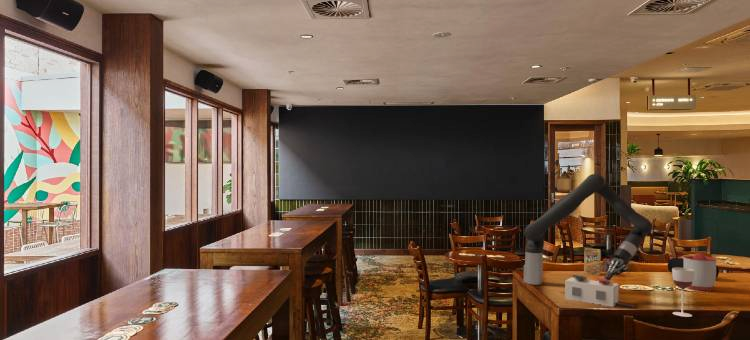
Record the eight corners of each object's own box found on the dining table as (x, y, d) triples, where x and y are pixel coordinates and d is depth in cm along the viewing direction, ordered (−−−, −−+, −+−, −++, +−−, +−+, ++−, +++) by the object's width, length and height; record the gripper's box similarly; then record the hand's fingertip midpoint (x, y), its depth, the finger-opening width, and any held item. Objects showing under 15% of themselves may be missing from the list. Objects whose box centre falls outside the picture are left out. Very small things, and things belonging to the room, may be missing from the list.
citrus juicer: (714, 287, 287) (715, 251, 287) (718, 293, 272) (718, 255, 272) (681, 283, 294) (682, 248, 294) (683, 289, 279) (683, 252, 279)
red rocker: (596, 281, 246) (596, 277, 247) (601, 283, 253) (601, 279, 254) (605, 283, 244) (605, 278, 244) (610, 285, 251) (610, 280, 251)
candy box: (583, 273, 319) (584, 248, 319) (585, 272, 323) (585, 247, 323) (599, 275, 315) (599, 250, 315) (600, 274, 318) (600, 249, 318)
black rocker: (572, 278, 253) (573, 274, 253) (578, 280, 260) (578, 276, 260) (581, 280, 250) (581, 275, 251) (586, 281, 257) (586, 277, 258)
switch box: (564, 299, 255) (564, 280, 254) (571, 295, 263) (571, 277, 263) (631, 310, 236) (632, 290, 236) (636, 305, 245) (636, 286, 245)
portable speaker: (666, 274, 324) (666, 257, 324) (674, 272, 329) (674, 256, 329) (711, 281, 303) (712, 264, 303) (719, 279, 308) (719, 263, 308)
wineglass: (667, 311, 234) (668, 267, 234) (685, 311, 235) (686, 267, 235) (678, 316, 226) (679, 270, 226) (697, 316, 227) (698, 270, 227)
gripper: (610, 245, 262) (591, 271, 257) (632, 249, 250) (613, 277, 245) (618, 255, 264) (599, 281, 259) (640, 260, 252) (621, 287, 247)
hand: (606, 279), depth 252 cm, fingers closed
